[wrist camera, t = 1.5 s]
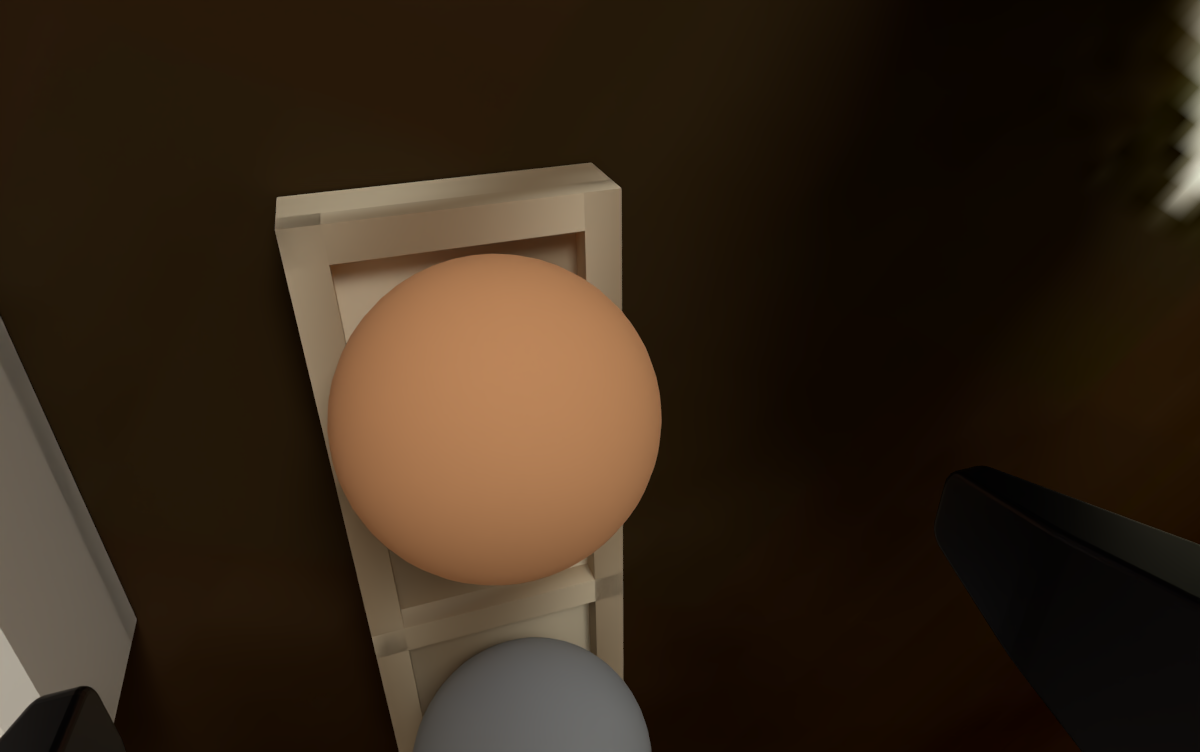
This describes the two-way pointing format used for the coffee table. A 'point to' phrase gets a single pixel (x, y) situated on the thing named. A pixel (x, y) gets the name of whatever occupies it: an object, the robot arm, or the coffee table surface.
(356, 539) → the frame
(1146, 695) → the robot arm
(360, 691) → the coffee table surface
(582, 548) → the terracotta ball
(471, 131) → the coffee table surface
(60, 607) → the ceramic trough
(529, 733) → the ball slate grey
